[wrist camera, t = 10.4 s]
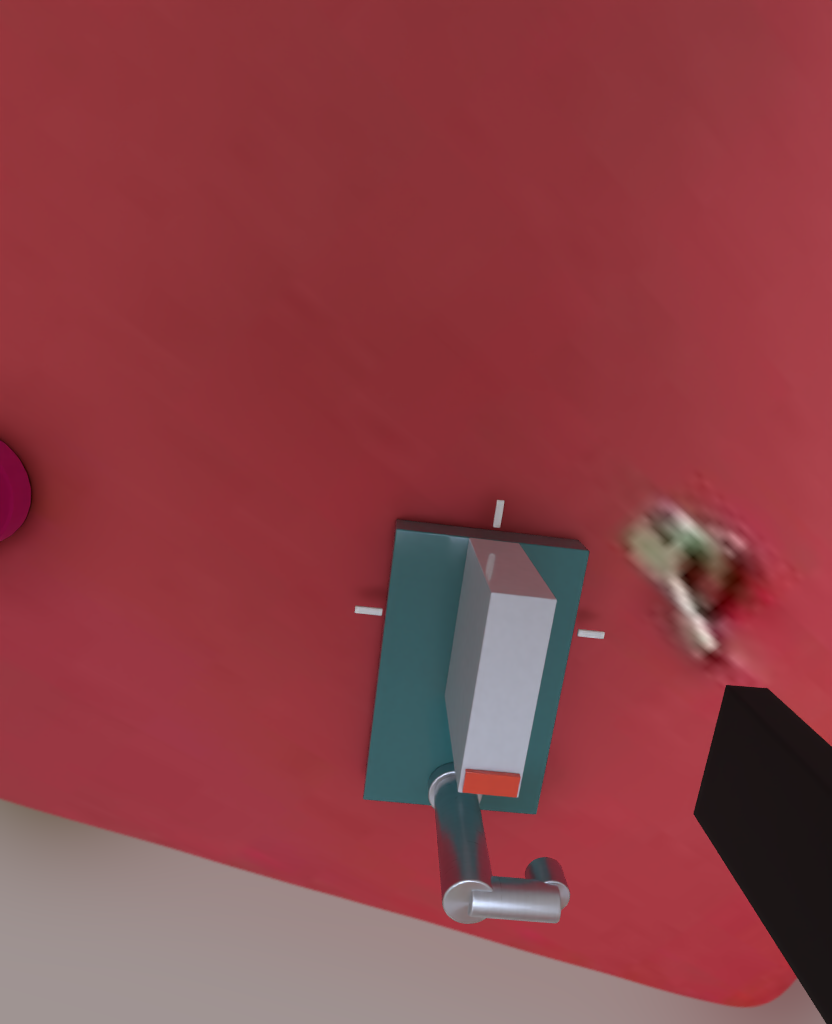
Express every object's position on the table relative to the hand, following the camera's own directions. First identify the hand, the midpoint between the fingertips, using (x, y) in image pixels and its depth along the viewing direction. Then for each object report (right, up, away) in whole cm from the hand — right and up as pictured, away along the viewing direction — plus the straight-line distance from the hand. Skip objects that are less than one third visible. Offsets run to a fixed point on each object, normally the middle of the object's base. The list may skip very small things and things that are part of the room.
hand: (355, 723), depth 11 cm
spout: (+5, -12, +23) cm, 27 cm away
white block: (+4, -2, +21) cm, 21 cm away
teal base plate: (+4, -4, +23) cm, 24 cm away
